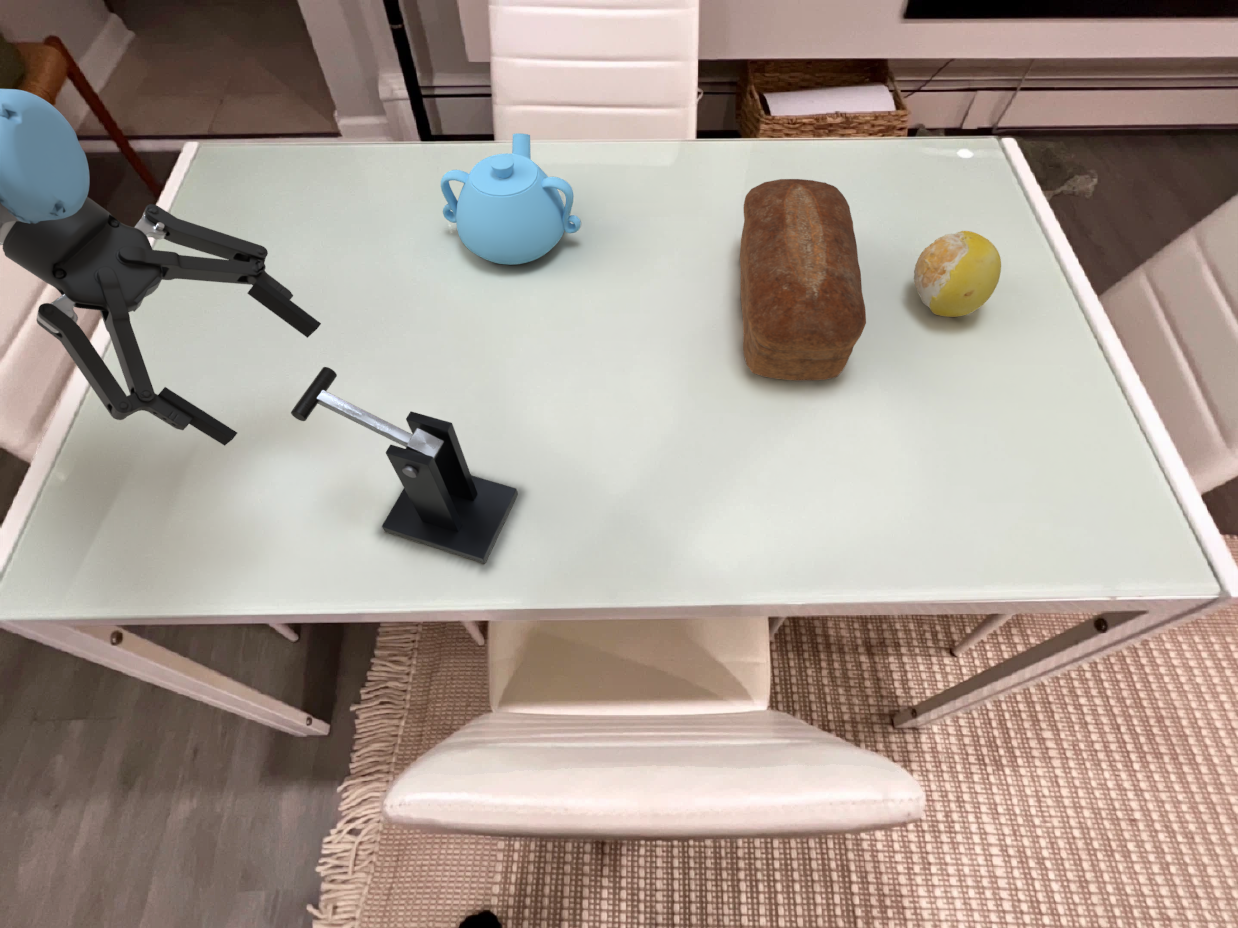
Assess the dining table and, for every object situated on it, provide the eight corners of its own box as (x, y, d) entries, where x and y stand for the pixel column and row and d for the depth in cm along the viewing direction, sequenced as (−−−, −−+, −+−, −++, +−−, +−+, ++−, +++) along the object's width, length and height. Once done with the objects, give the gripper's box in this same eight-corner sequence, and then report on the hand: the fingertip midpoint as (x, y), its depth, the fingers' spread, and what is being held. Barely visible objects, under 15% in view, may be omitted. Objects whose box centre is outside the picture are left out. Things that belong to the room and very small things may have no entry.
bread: (829, 239, 101) (852, 162, 91) (851, 394, 86) (881, 324, 76) (732, 235, 102) (744, 159, 92) (737, 389, 87) (751, 318, 77)
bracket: (384, 532, 77) (337, 459, 64) (422, 465, 81) (385, 385, 69) (485, 564, 75) (456, 494, 62) (518, 494, 79) (497, 416, 67)
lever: (290, 418, 65) (290, 406, 63) (322, 374, 68) (322, 361, 65) (422, 482, 67) (425, 473, 65) (447, 437, 70) (452, 427, 68)
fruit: (966, 273, 97) (999, 213, 89) (990, 331, 92) (1026, 273, 83) (893, 275, 97) (918, 215, 89) (911, 333, 92) (940, 275, 83)
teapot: (434, 269, 99) (411, 192, 88) (469, 180, 109) (452, 101, 99) (573, 281, 97) (566, 204, 87) (594, 189, 108) (591, 110, 97)
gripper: (130, 148, 65) (330, 304, 75) (-96, 343, 52) (181, 498, 62) (144, 103, 59) (358, 277, 69) (-104, 308, 47) (201, 484, 57)
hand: (275, 382), depth 66 cm, fingers open, 13 cm apart
